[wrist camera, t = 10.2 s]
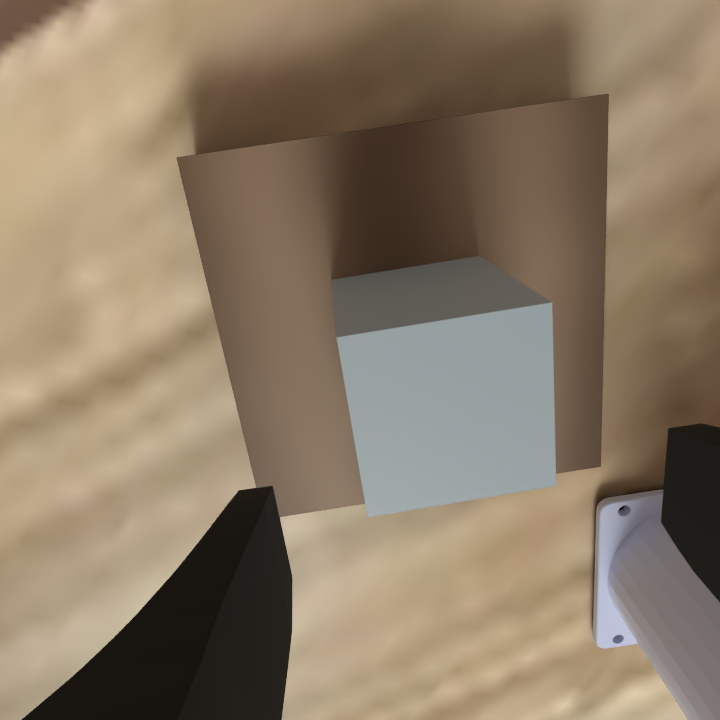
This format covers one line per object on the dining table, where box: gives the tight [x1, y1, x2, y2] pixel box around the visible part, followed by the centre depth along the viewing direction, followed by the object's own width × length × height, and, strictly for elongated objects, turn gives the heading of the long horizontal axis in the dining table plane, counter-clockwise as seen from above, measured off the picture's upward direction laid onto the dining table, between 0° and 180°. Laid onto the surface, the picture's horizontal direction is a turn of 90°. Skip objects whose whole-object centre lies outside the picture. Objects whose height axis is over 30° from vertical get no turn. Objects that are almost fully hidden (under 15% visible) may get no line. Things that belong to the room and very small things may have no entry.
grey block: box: [331, 256, 556, 517], centre depth 15 cm, size 4×4×6 cm
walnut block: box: [177, 94, 609, 517], centre depth 19 cm, size 12×12×3 cm
